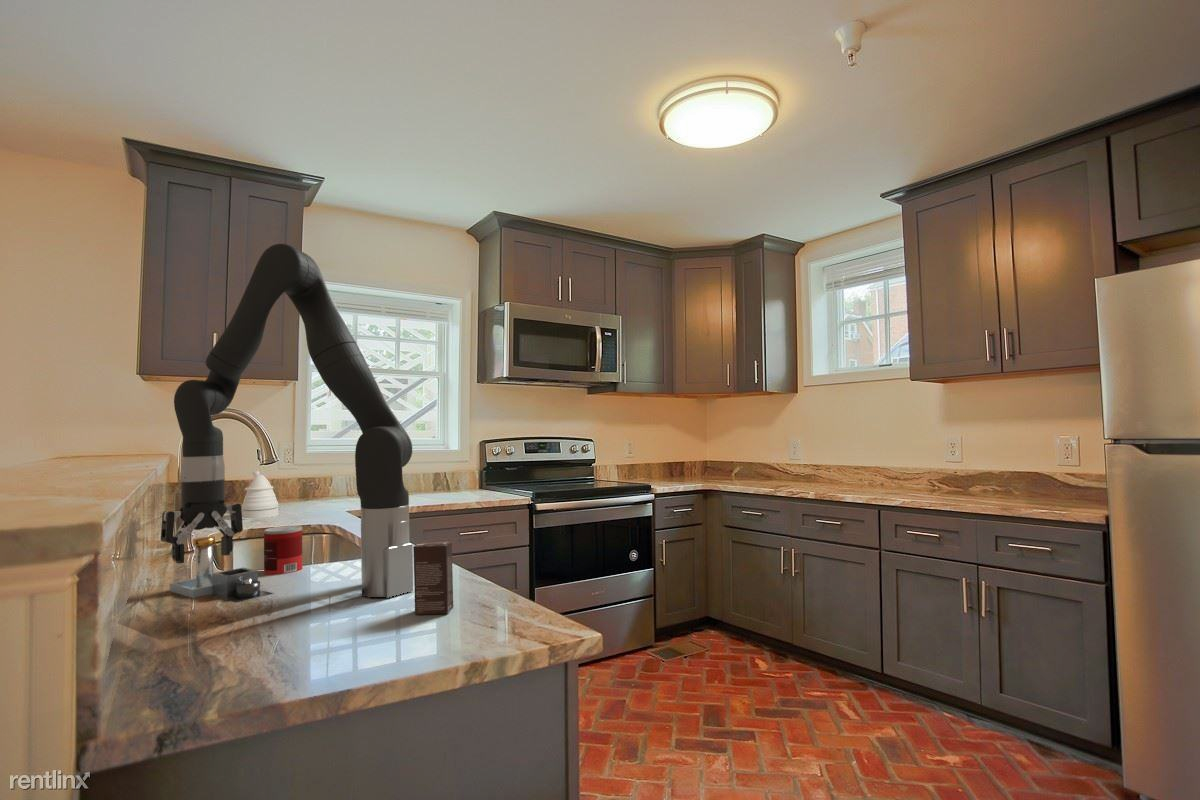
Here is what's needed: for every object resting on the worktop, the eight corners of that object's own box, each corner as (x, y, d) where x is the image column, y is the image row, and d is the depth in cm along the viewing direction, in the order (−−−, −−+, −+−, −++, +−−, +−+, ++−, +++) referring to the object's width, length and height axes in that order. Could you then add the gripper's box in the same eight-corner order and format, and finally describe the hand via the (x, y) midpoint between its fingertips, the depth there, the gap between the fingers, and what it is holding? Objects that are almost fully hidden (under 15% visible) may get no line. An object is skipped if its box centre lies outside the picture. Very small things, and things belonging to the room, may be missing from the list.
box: (454, 607, 114) (452, 540, 114) (447, 614, 109) (446, 545, 110) (420, 608, 114) (419, 541, 114) (413, 615, 109) (412, 546, 110)
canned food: (308, 572, 146) (307, 524, 146) (292, 580, 138) (292, 530, 138) (275, 573, 145) (274, 526, 146) (257, 582, 137) (257, 531, 138)
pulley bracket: (273, 601, 121) (273, 572, 121) (236, 610, 116) (235, 580, 116) (245, 593, 127) (245, 566, 128) (208, 602, 122) (208, 573, 122)
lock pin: (219, 592, 127) (218, 537, 127) (199, 597, 124) (197, 540, 124) (210, 590, 129) (209, 535, 129) (190, 595, 126) (189, 539, 126)
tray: (237, 595, 127) (237, 580, 127) (192, 605, 120) (192, 589, 120) (213, 588, 132) (213, 574, 132) (169, 598, 126) (169, 583, 126)
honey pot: (233, 519, 242) (233, 472, 243) (260, 514, 254) (260, 470, 255) (260, 520, 238) (259, 472, 239) (286, 515, 251) (285, 470, 252)
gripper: (171, 482, 119) (171, 568, 118) (248, 476, 131) (249, 554, 130) (155, 481, 123) (155, 564, 123) (231, 475, 135) (231, 550, 134)
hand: (203, 558), depth 126 cm, fingers open, 8 cm apart
